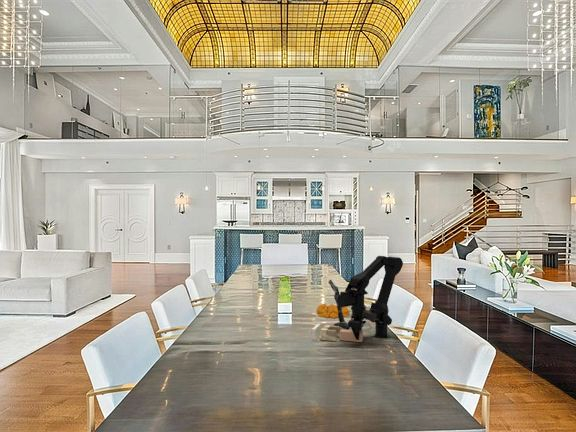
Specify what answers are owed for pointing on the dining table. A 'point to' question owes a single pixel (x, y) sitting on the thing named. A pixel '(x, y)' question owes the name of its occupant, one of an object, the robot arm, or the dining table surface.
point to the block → (330, 332)
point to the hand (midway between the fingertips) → (358, 338)
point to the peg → (350, 336)
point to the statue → (339, 309)
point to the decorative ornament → (331, 311)
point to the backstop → (316, 331)
